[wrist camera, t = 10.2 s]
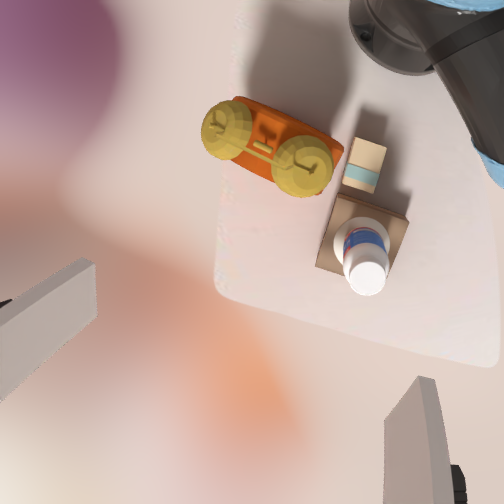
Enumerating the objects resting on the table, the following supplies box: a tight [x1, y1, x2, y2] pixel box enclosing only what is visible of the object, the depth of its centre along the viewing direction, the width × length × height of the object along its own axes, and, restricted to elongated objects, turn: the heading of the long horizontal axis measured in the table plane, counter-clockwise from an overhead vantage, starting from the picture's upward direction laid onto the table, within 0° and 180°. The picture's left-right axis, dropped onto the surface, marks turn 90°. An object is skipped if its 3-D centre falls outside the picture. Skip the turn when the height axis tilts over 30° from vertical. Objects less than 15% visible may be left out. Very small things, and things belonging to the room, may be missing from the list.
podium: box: [315, 193, 409, 279], centre depth 42 cm, size 10×10×3 cm
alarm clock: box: [201, 96, 344, 198], centre depth 32 cm, size 13×6×20 cm, turn 66°
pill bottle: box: [343, 226, 390, 295], centre depth 36 cm, size 6×5×10 cm
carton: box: [342, 137, 387, 194], centre depth 38 cm, size 6×4×4 cm
